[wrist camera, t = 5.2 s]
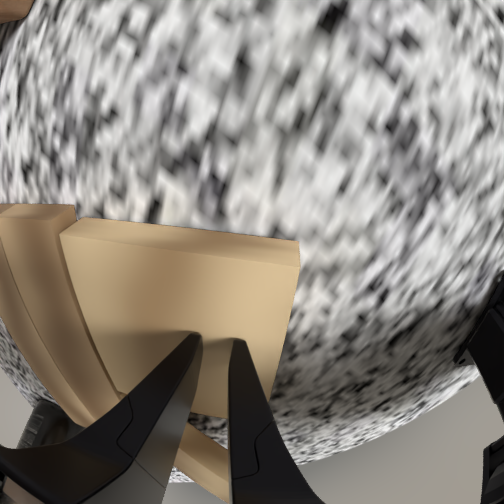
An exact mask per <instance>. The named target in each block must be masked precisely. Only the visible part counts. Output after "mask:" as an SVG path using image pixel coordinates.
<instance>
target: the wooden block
mask: <svg viewBox="0 0 504 504" xmlns="http://www.w3.org/2000/svg"><path fill="white" fill-rule="evenodd" d="M33 2H34V0H0V24H1V23H6V22H10V21H15V20H20V19H22V18H24V17H26V15H27V14H28V13H29V10H30V8H31V6H32V4H33Z"/></svg>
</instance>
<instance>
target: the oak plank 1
mask: <svg viewBox="0 0 504 504" xmlns="http://www.w3.org/2000/svg"><path fill="white" fill-rule="evenodd" d="M59 236H60V240H61V244H62V248H63V252H64V256H65V260H66V264H67V267H68V271H69V274H70V277H71V281H72V284H73V287H74V290H75V293H76V296H77V299H78V302H79V305H80V308H81V310H82V313H83V316H84V318H85V321H86V324H87V326H88V329H89V331H90V334H91V336H92V338H93V341H94V343H95V345H96V348H97V350H98V352H99V354H100V357H101V359H102V361H103V363H104V365H105V367H106V369H107V371H108V373H109V375H110V377H111V379H112V381H113V383H114V385H115V387H116V389H117V391H120V392H123V393H126V394H128V393H129V392H130V391H131V390H132V389H133V388H134V387H135V386H136V385H137V384H138V383H140V382H141V381H142V380H143V379H144V378H145V377H146V376H147V375H148V374H149V373H150V372H151V371H152V370H153V369H154V368H155V367H156V366H157V365H158V364H159V363H160V362H161V361H162V360H163V359H164V358H165V357H166V356H167V355H168V354H169V353H170V352H171V351H172V350H173V349H174V348H175V347H177V346H178V345H179V344H180V343H181V342H182V341H183V340H184V339H185V338H186V337H187V336H188V335H189V334H190V333H195V334H200V335H202V339H203V357H202V362H201V368H200V373H199V379H198V385H197V390H196V394H195V397H194V401H193V404H192V407H191V410H190V412H193V413H198V414H203V415H208V416H213V417H218V418H224V419H227V395H228V367H229V361H230V355H231V350H232V345H233V341H234V340H235V339H239V340H245V341H246V342H247V345H248V348H249V351H250V354H251V357H252V360H253V362H254V365H255V368H256V371H257V374H258V376H259V379H260V382H261V385H262V388H263V390H264V393H265V396H266V399H267V401H268V402H269V399H270V395H271V391H272V387H273V384H274V380H275V376H276V372H277V368H278V364H279V360H280V356H281V352H282V348H283V344H284V340H285V336H286V331H287V327H288V323H289V318H290V314H291V309H292V305H293V300H294V295H295V291H296V286H297V281H298V276H299V271H300V253H299V242H298V241H290V240H283V239H275V238H267V237H259V236H251V235H243V234H235V233H226V232H218V231H209V230H201V229H192V228H183V227H174V226H165V225H156V224H147V223H137V222H128V221H118V220H108V219H98V218H87V217H82V218H81V219H80V220H78V221H77V222H75V223H74V224H72V225H71V226H70V227H68V228H67V229H65V230H64V231H63V232H61V233H60V234H59Z"/></svg>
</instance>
